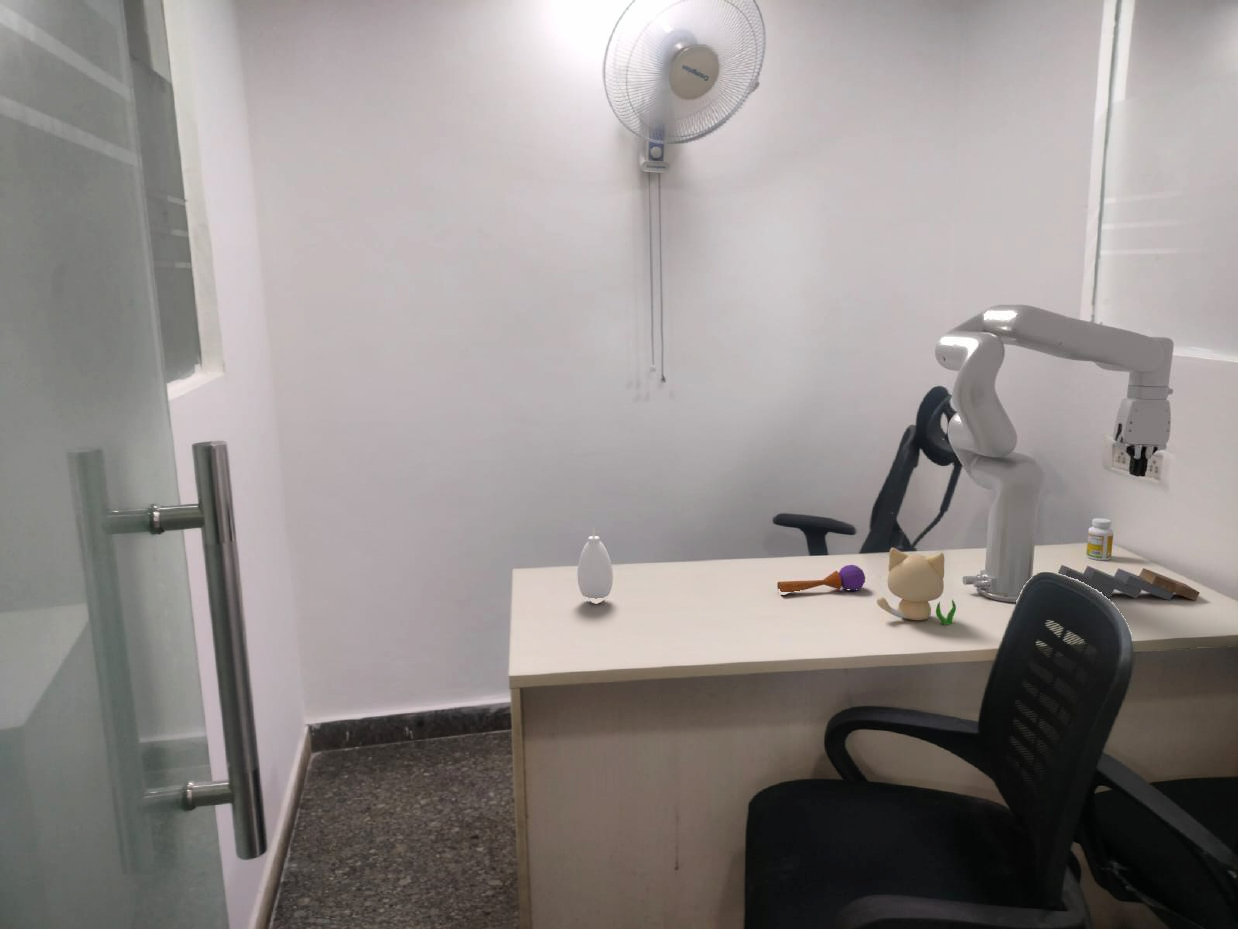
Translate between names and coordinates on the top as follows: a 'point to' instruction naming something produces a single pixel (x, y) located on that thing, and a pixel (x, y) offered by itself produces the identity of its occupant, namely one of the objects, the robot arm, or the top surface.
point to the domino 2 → (1111, 582)
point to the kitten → (916, 585)
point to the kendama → (829, 580)
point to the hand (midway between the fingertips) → (1137, 475)
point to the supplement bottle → (1100, 540)
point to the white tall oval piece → (595, 569)
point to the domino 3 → (1142, 584)
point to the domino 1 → (1086, 580)
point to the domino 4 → (1169, 584)
